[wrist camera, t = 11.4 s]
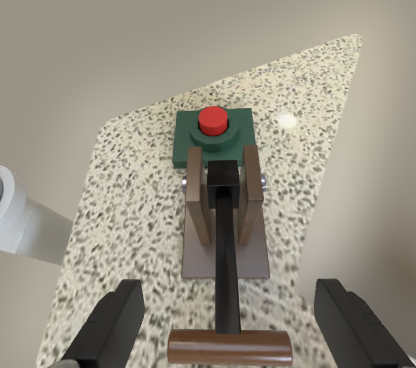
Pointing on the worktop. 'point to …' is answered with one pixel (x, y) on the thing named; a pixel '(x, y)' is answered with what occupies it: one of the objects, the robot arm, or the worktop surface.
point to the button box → (213, 137)
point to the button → (213, 121)
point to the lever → (227, 295)
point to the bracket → (243, 220)
